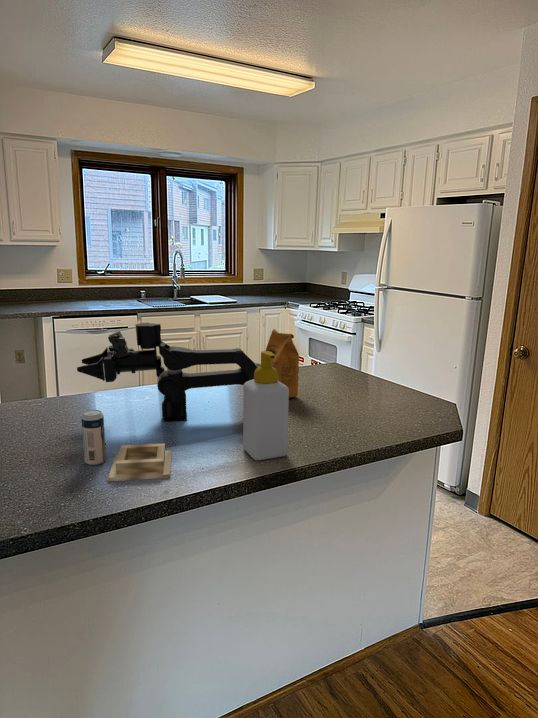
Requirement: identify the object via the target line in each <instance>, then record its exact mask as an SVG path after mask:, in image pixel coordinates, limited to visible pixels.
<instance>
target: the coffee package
mask: <svg viewBox="0 0 538 718" xmlns="http://www.w3.org/2000/svg"><path fill="white" fill-rule="evenodd" d="M294 336H295V335H294V334H293V333H285V332H284V333H282V332H279V331H278V330H276V329H275V328H273V329H272V331H271V334H270V336H269V339H268V341H267V345H266V347H265V351H270V352H272V353H273V354H274V355H275V359H272V367H274V368H275V369H276V370H277V372H278V381H279V382H281V383H282V384H284V385H286V386H287V387H288V389H289V399H290V398H294V397H298V396H299V392H298V390H299V379H300V378H299V371H300V370H299V368H300V366H299V364H300V355H299V352H298V350H297V347H296V346H295V343H294V341H293V339H294V338H295V337H294Z"/></svg>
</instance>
